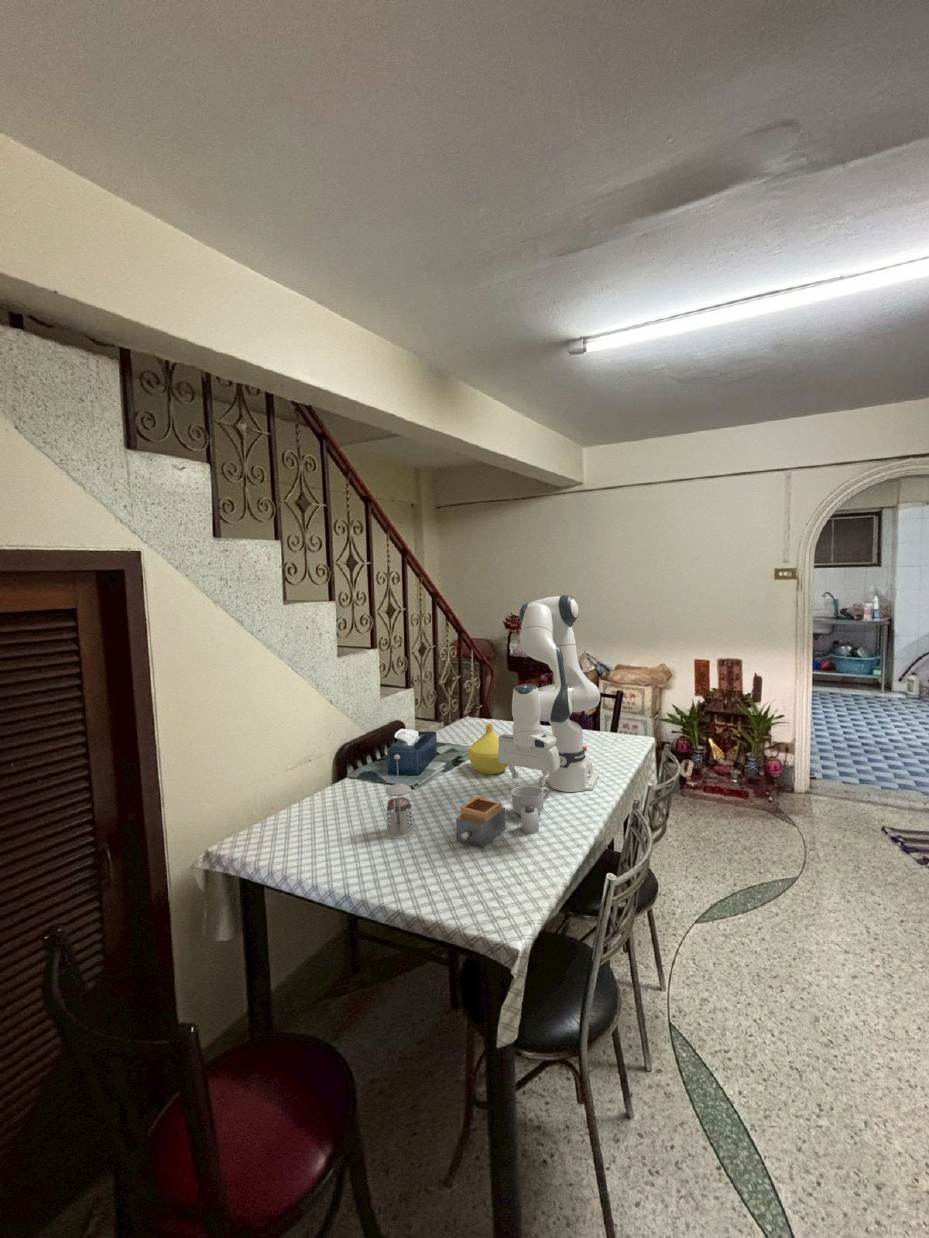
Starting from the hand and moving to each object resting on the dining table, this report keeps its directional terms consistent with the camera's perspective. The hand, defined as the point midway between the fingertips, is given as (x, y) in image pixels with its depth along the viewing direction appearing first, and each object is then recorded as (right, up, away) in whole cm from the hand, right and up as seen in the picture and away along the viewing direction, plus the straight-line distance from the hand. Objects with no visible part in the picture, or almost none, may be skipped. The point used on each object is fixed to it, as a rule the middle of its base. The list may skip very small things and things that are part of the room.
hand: (528, 780), depth 169 cm
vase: (-9, -12, +54) cm, 56 cm away
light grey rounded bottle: (+1, -16, +1) cm, 16 cm away
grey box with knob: (-15, -17, -3) cm, 23 cm away
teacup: (+3, -15, +13) cm, 20 cm away
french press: (-40, -17, +2) cm, 44 cm away
